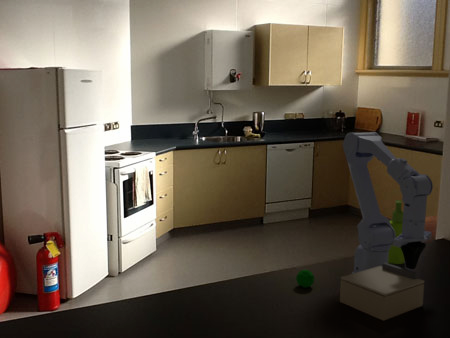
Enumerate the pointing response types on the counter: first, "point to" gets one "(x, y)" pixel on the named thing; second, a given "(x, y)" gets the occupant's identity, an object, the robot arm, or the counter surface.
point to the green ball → (305, 278)
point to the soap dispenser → (396, 222)
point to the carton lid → (384, 279)
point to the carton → (381, 300)
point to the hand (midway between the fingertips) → (410, 268)
